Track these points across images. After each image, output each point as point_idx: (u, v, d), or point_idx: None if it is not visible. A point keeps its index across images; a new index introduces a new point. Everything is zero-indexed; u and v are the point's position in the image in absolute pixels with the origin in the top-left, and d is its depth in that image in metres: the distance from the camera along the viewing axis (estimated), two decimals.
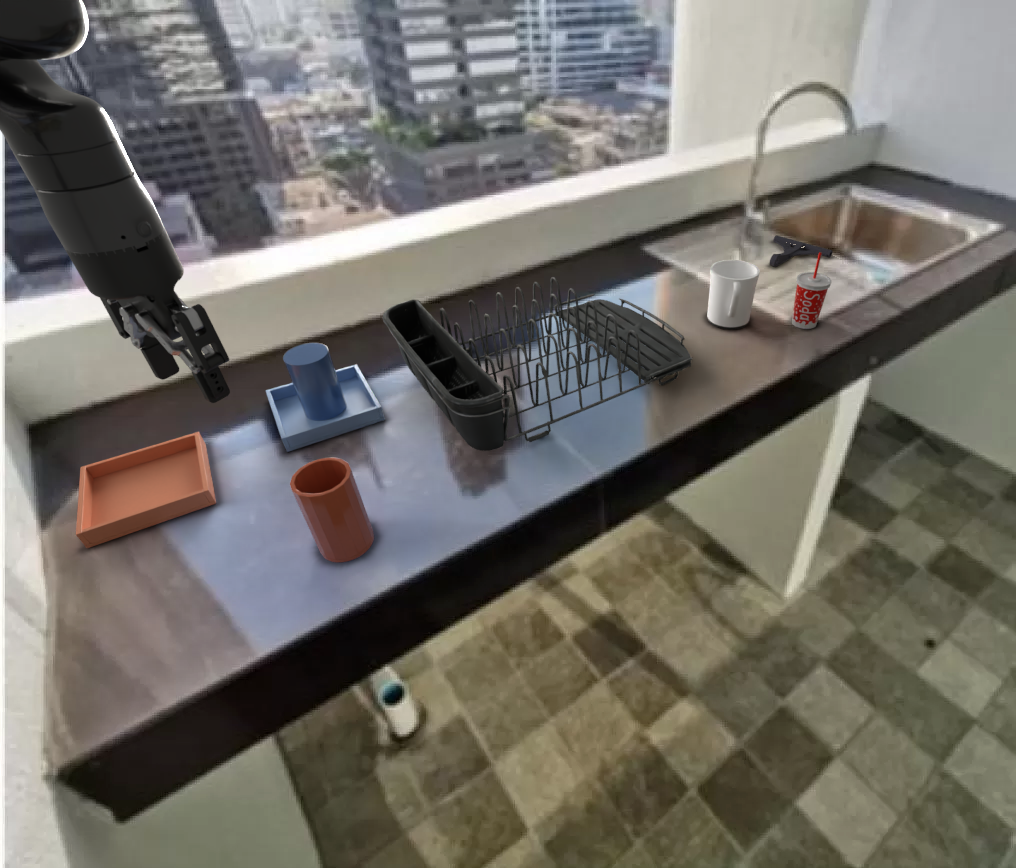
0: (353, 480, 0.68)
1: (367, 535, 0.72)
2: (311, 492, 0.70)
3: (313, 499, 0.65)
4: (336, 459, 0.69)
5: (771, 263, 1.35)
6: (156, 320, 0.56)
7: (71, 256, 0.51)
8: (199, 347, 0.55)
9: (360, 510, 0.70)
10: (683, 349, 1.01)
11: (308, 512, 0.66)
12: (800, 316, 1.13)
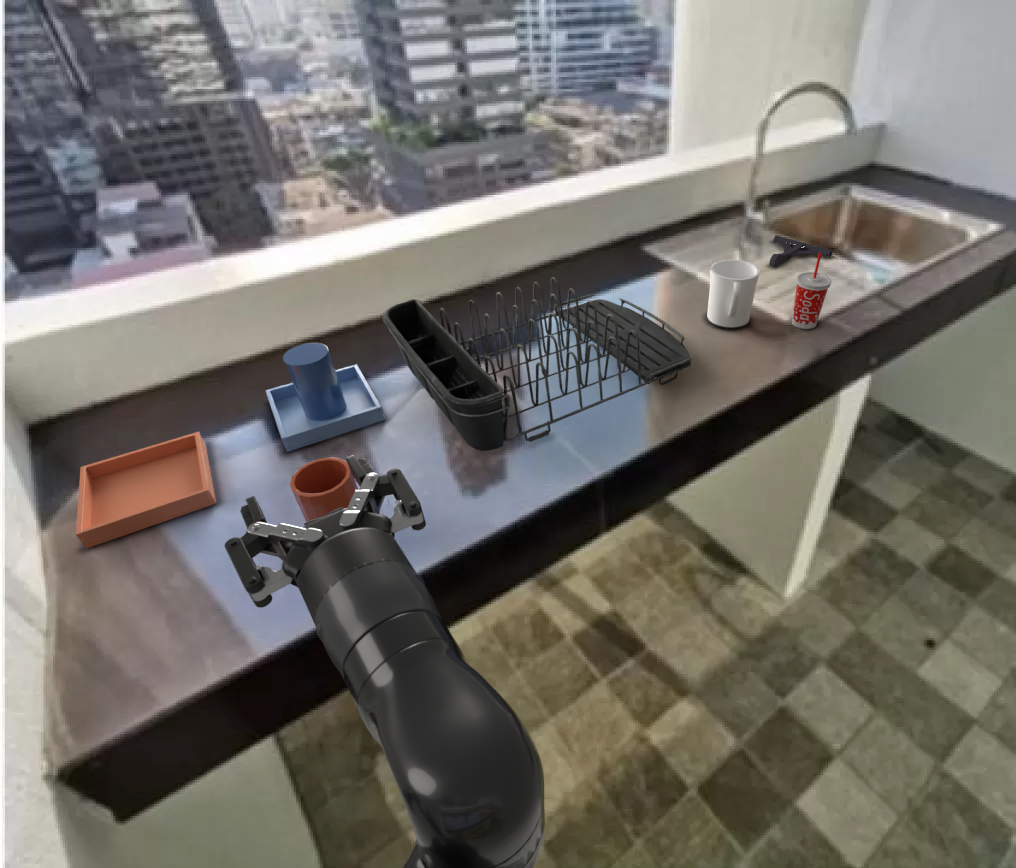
0: (353, 480, 0.68)
1: None
2: (311, 492, 0.70)
3: (313, 499, 0.65)
4: (336, 459, 0.69)
5: (771, 263, 1.35)
6: None
7: None
8: None
9: None
10: (683, 349, 1.01)
11: (308, 512, 0.66)
12: (800, 316, 1.13)
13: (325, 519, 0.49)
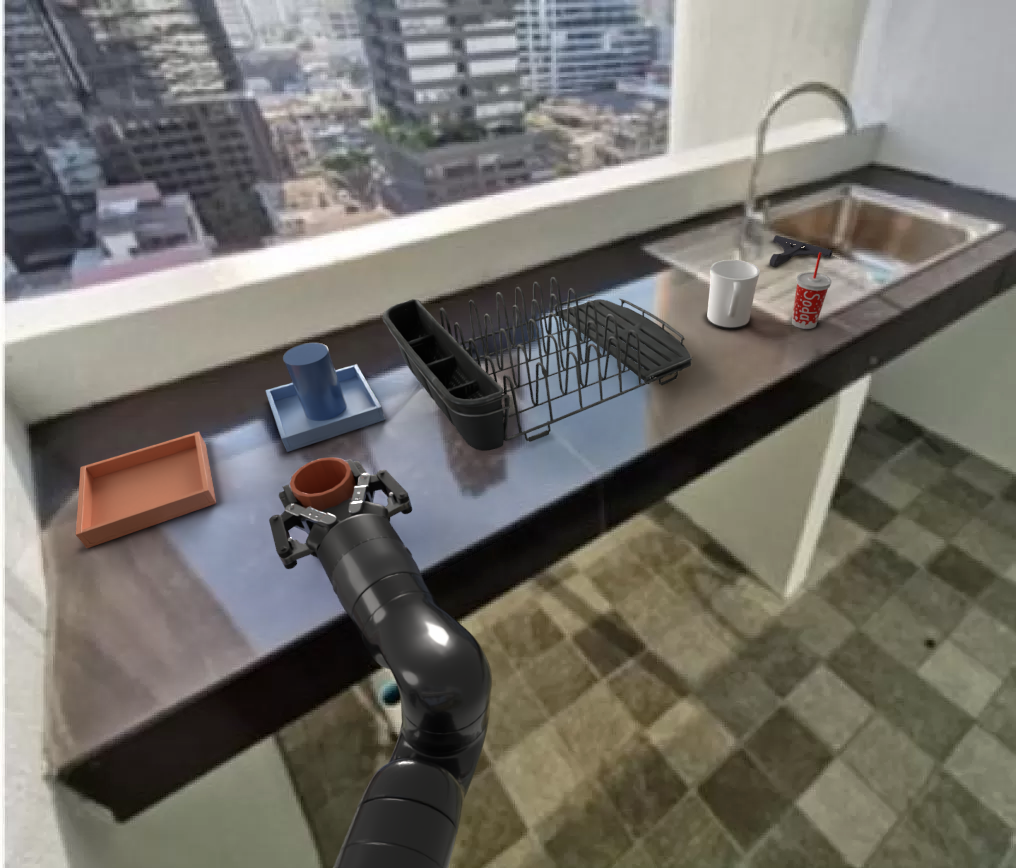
0: (353, 480, 0.68)
1: None
2: (311, 492, 0.70)
3: (313, 499, 0.65)
4: (336, 459, 0.69)
5: (771, 263, 1.35)
6: None
7: None
8: None
9: None
10: (683, 349, 1.01)
11: None
12: (800, 316, 1.13)
13: (337, 507, 0.64)
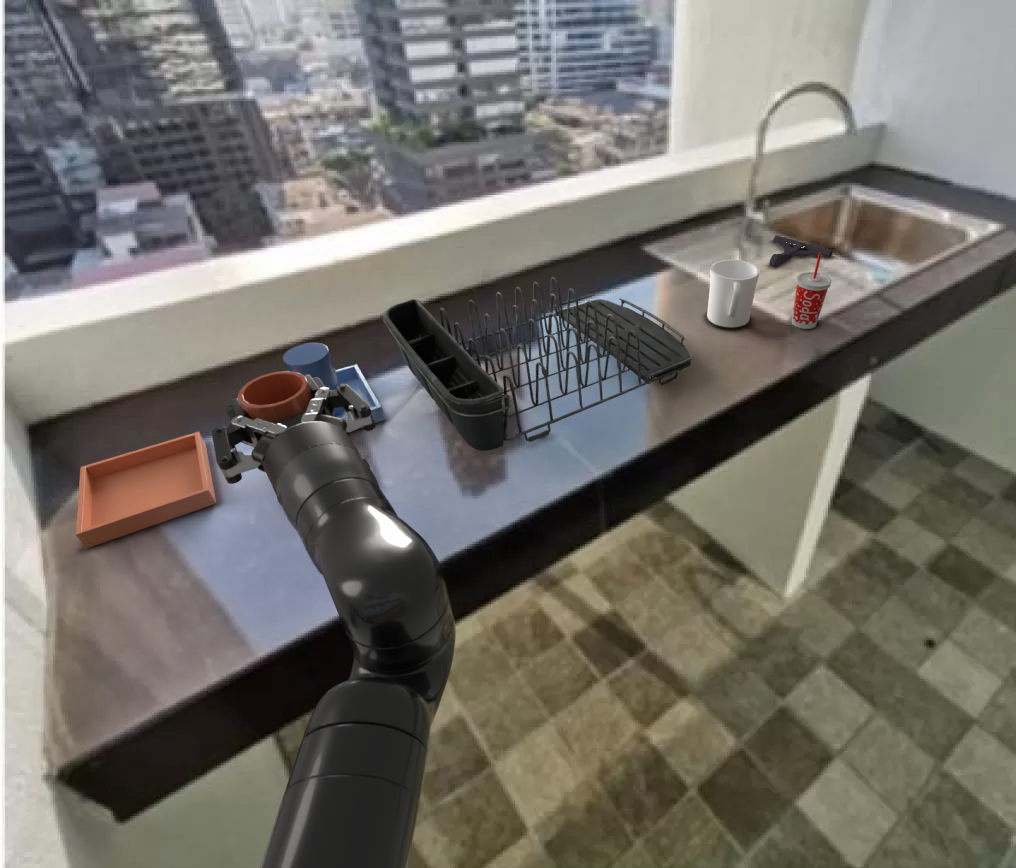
0: (310, 395, 0.61)
1: None
2: None
3: (263, 410, 0.58)
4: (292, 373, 0.62)
5: (771, 263, 1.35)
6: None
7: None
8: None
9: None
10: (683, 349, 1.01)
11: None
12: (800, 316, 1.13)
13: (290, 420, 0.57)
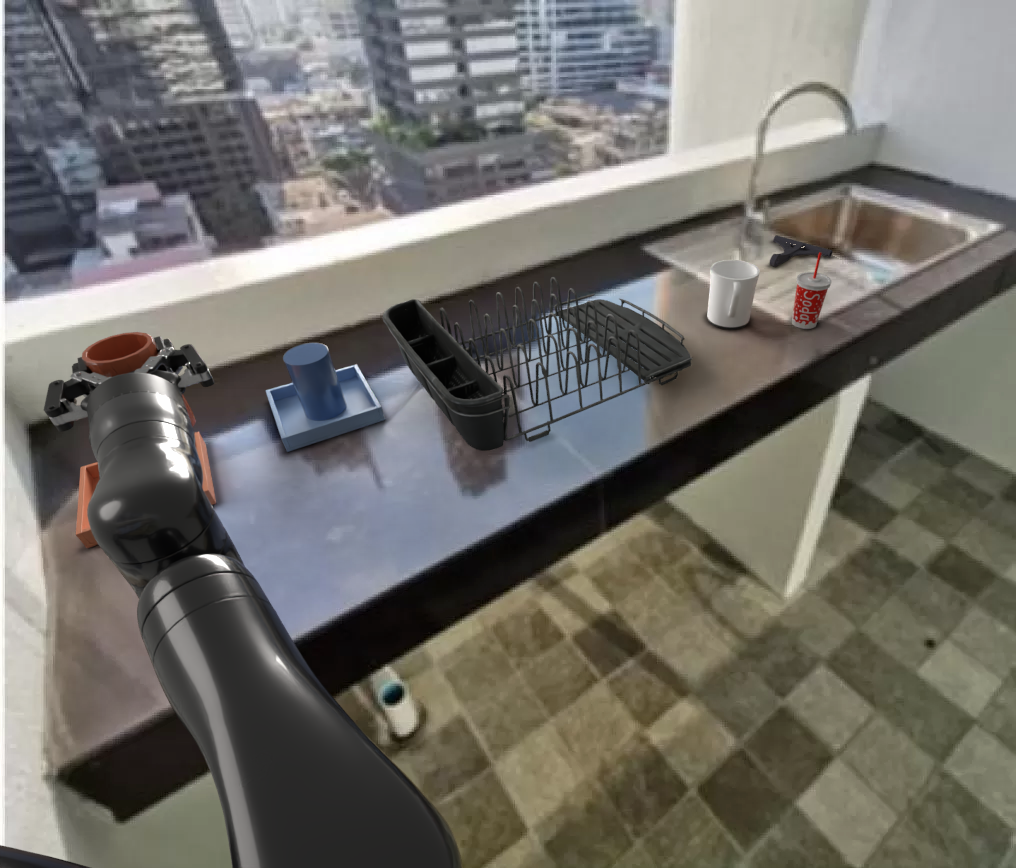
0: (156, 354, 0.65)
1: None
2: None
3: (102, 366, 0.61)
4: (141, 333, 0.66)
5: (771, 263, 1.35)
6: None
7: None
8: None
9: None
10: (683, 349, 1.01)
11: None
12: (800, 316, 1.13)
13: None
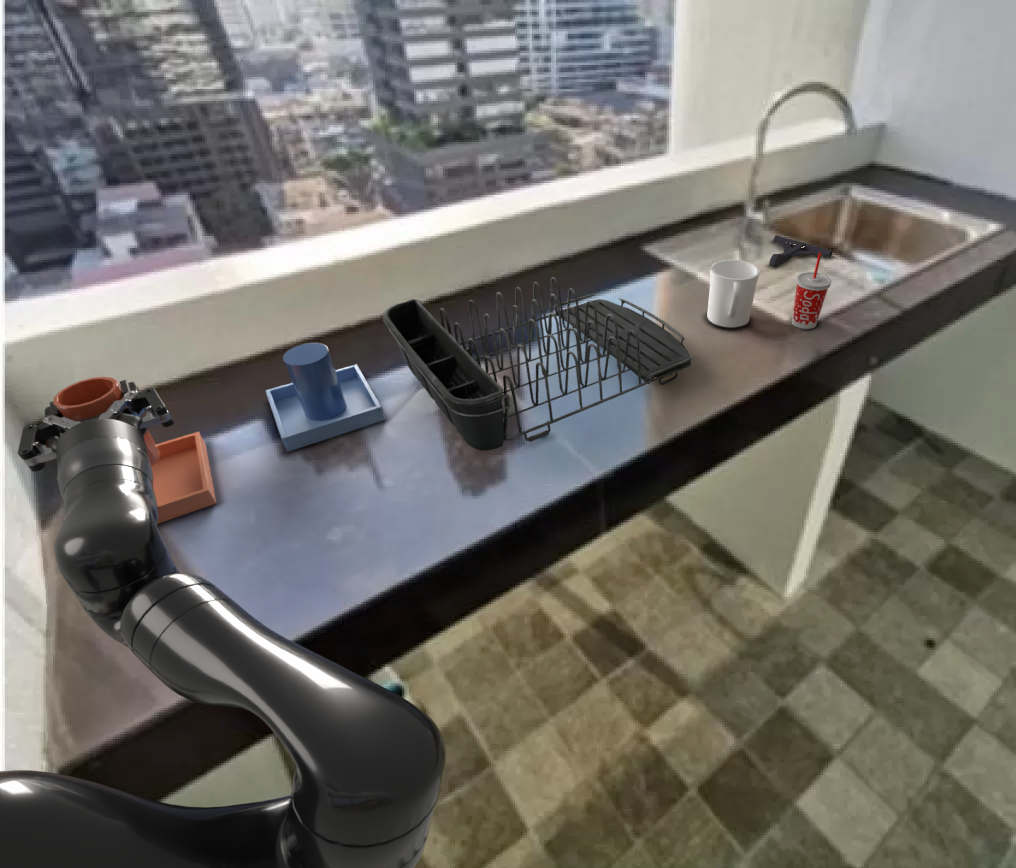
0: (121, 397, 0.72)
1: None
2: None
3: (71, 410, 0.68)
4: (107, 378, 0.73)
5: (771, 263, 1.35)
6: None
7: None
8: None
9: None
10: (683, 349, 1.01)
11: None
12: (800, 316, 1.13)
13: (93, 418, 0.68)
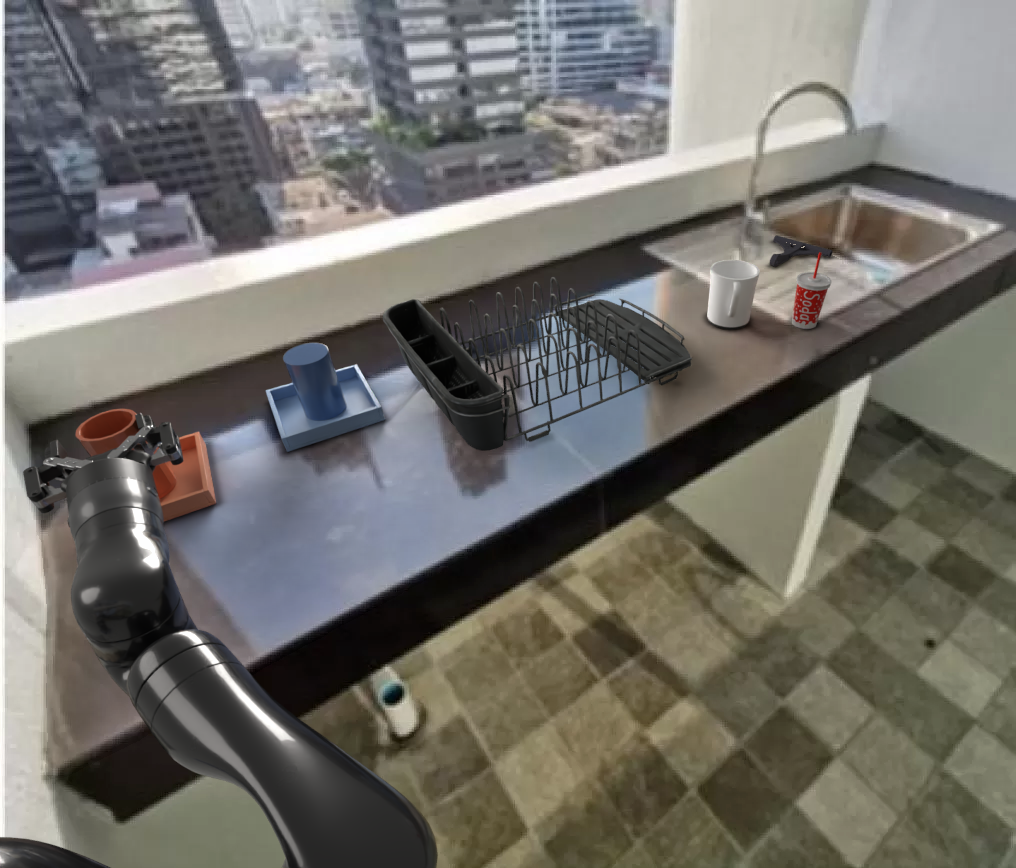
0: None
1: (164, 481, 0.79)
2: None
3: (93, 443, 0.71)
4: (126, 410, 0.76)
5: (771, 263, 1.35)
6: None
7: None
8: (179, 444, 0.72)
9: None
10: (683, 349, 1.01)
11: None
12: (800, 316, 1.13)
13: (102, 455, 0.68)
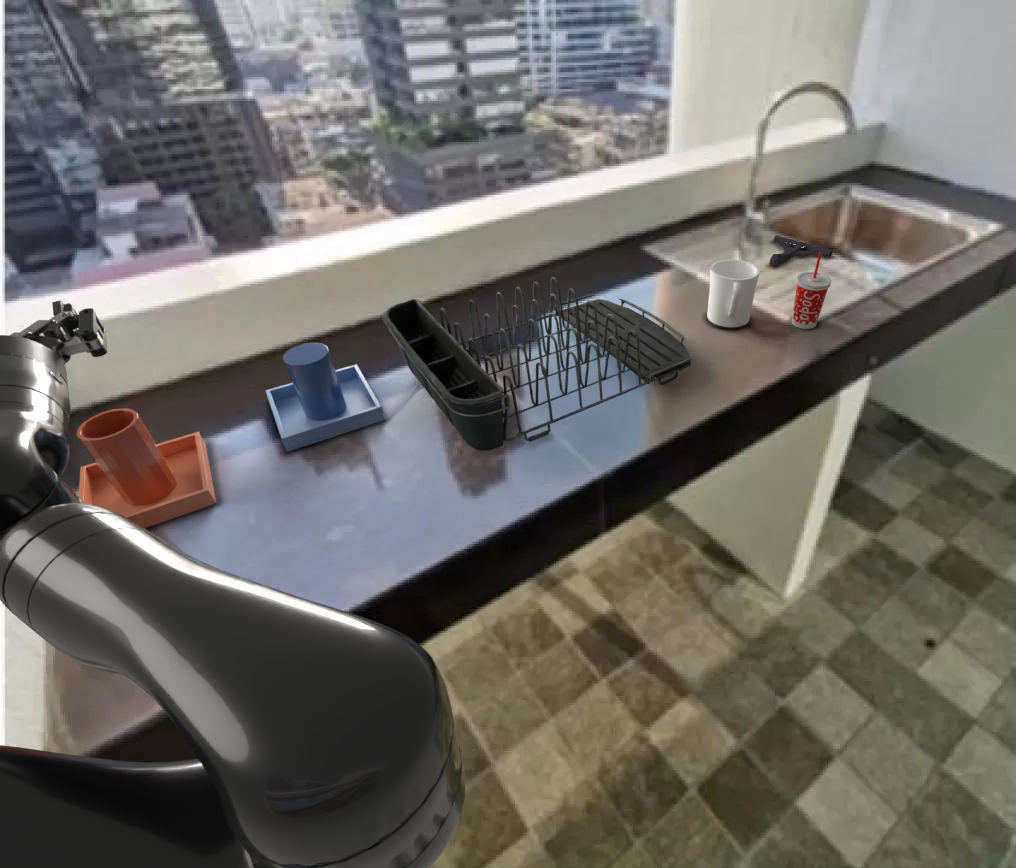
0: (141, 428, 0.75)
1: (164, 481, 0.79)
2: None
3: (94, 442, 0.71)
4: (128, 410, 0.76)
5: (771, 263, 1.35)
6: None
7: None
8: (104, 336, 0.59)
9: (152, 457, 0.77)
10: (683, 349, 1.01)
11: (94, 456, 0.73)
12: (800, 316, 1.13)
13: None
